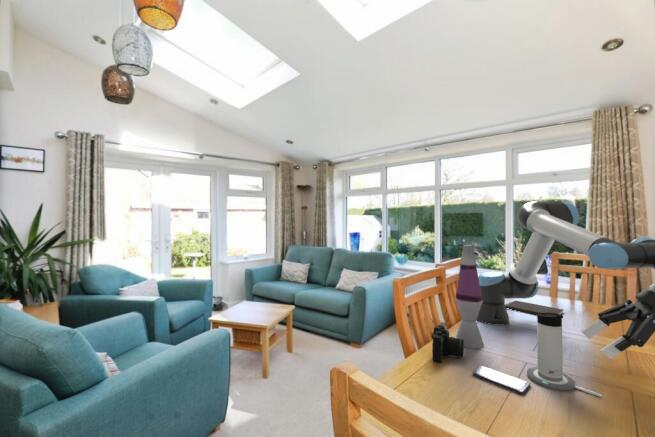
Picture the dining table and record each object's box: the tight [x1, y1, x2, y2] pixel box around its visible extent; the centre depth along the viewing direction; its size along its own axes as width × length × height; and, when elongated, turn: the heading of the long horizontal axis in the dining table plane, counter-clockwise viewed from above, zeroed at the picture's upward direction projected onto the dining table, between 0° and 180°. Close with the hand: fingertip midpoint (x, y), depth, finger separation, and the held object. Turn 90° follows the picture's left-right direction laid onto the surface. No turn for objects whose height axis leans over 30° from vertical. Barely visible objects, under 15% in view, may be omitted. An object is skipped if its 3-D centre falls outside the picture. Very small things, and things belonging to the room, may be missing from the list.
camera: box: [430, 324, 465, 364], centre depth 109 cm, size 14×11×10 cm
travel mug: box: [536, 313, 564, 382], centre depth 92 cm, size 6×7×20 cm
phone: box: [472, 365, 531, 396], centre depth 92 cm, size 14×7×1 cm, turn 40°
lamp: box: [454, 244, 485, 350], centre depth 120 cm, size 11×11×40 cm
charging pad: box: [526, 366, 603, 398], centre depth 90 cm, size 18×12×1 cm
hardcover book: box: [505, 300, 564, 316], centre depth 161 cm, size 16×23×2 cm
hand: (594, 344), depth 88 cm, fingers open, 13 cm apart
